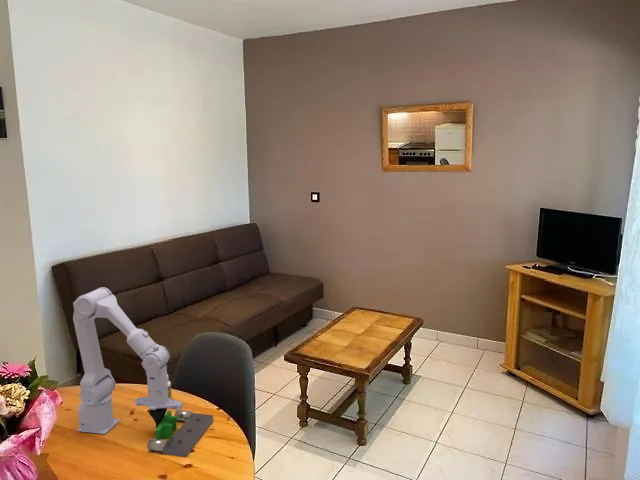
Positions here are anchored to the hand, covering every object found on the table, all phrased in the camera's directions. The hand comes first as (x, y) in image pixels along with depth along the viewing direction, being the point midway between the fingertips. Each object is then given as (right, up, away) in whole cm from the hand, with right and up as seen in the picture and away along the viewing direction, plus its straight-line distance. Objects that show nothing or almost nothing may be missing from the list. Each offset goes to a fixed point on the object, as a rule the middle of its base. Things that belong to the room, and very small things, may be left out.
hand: (160, 429), depth 150 cm
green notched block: (+2, -2, 0) cm, 3 cm away
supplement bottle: (-5, +2, +18) cm, 19 cm away
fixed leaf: (+7, -2, -1) cm, 7 cm away
